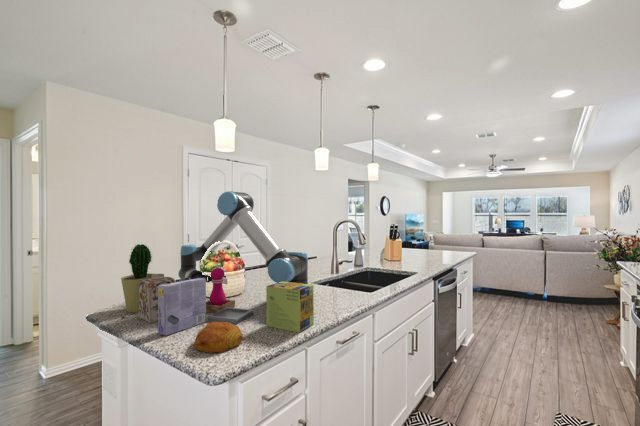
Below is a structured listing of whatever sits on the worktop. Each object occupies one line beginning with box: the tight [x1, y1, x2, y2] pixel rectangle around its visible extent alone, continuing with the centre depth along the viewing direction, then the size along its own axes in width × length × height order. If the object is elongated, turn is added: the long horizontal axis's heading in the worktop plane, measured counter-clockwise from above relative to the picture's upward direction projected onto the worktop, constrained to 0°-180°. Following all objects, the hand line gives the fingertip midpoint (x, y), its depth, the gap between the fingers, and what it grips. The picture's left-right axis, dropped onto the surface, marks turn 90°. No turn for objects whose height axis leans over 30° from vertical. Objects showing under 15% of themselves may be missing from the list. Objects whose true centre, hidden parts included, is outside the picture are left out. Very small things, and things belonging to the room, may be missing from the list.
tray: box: [207, 307, 254, 325], centre depth 136 cm, size 13×13×2 cm
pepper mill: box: [208, 264, 227, 306], centre depth 149 cm, size 7×7×20 cm
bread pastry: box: [193, 322, 244, 353], centre depth 109 cm, size 14×16×8 cm
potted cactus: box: [120, 243, 154, 313], centre depth 150 cm, size 15×15×30 cm
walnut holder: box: [206, 298, 236, 314], centre depth 149 cm, size 11×11×3 cm
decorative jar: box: [138, 273, 176, 324], centre depth 138 cm, size 12×12×18 cm
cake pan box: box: [157, 278, 207, 337], centre depth 125 cm, size 19×5×18 cm, turn 149°
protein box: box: [265, 282, 315, 334], centre depth 127 cm, size 10×15×16 cm
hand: (212, 283), depth 152 cm, fingers open, 13 cm apart
